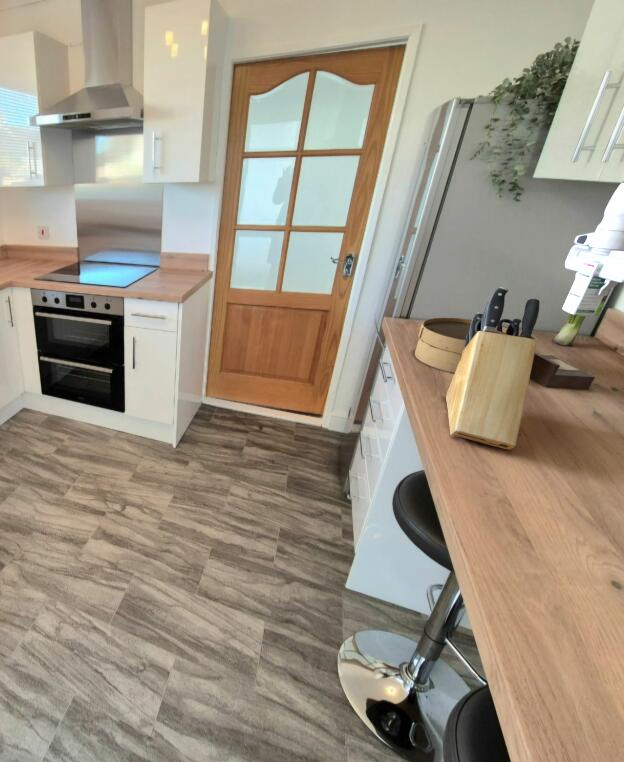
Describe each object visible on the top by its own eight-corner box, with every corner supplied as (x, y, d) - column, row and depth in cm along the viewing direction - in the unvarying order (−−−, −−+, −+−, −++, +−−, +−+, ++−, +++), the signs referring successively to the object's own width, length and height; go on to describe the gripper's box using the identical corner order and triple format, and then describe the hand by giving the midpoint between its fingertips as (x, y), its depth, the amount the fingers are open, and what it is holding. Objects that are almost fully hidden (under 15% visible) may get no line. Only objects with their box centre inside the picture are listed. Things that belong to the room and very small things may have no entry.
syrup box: (572, 314, 122) (598, 263, 116) (560, 309, 127) (583, 259, 121) (598, 316, 121) (625, 264, 114) (584, 310, 126) (609, 260, 119)
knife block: (492, 394, 120) (540, 285, 107) (511, 457, 94) (579, 323, 80) (443, 384, 126) (483, 279, 112) (448, 441, 100) (502, 313, 86)
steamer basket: (399, 358, 144) (409, 326, 139) (429, 342, 157) (439, 312, 152) (490, 384, 126) (506, 349, 121) (515, 363, 139) (530, 331, 134)
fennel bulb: (572, 348, 151) (589, 315, 146) (553, 345, 154) (569, 312, 149) (570, 343, 155) (586, 311, 150) (552, 340, 158) (567, 309, 153)
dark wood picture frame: (547, 366, 137) (557, 346, 134) (588, 389, 123) (600, 367, 120) (508, 364, 139) (517, 344, 136) (545, 386, 125) (556, 365, 121)
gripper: (666, 247, 105) (636, 302, 112) (596, 236, 124) (573, 283, 130) (636, 247, 106) (608, 301, 112) (571, 235, 124) (550, 283, 131)
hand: (589, 291), depth 121 cm, fingers closed on syrup box, 6 cm apart
